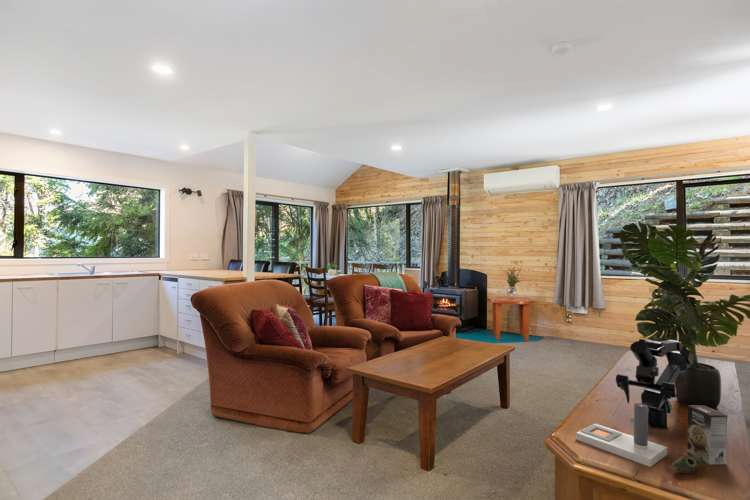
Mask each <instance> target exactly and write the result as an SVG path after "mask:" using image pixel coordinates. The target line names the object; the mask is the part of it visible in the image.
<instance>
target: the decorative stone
mask: <svg viewBox="0 0 750 500" xmlns="http://www.w3.org/2000/svg"><path fill="white" fill-rule="evenodd" d="M702 462H704V461H703V458H702V457H699V456H694V455H682V456H680V457H678V458H677V460H675V461H674V462H672V464H671V466H672V467H673V469H674V470H675V471H676V472H680V473H683V474H691V473H694V472H696V471H697V470H699V468H700V467H701V466H702Z"/></svg>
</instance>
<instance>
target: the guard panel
mask: <svg viewBox="0 0 750 500" xmlns="http://www.w3.org/2000/svg"><path fill="white" fill-rule="evenodd" d="M597 429H598V430H600V431H603V432H606V433H609V434H611V435H609V436H607V437H603V436H600V435H597V434H594V433H592V432H593V431H595V430H597ZM575 440H576V441H580V442H582V443H584V444H588V445H590V446H593V447H596V448H598V449H601V450H604V451H606V452H609V453H612V454H614V455H617V456H619V457H622V458H625V459H627V460H631V461H633V462H635V463H638V464H641V465H644V466H646V467H649V468H651V467H652V466H653V465H655V464H656V463H658V462H660V461H661V460H662V459H663V458H664V457H666V456H668V447H667V446H665V445H661V444H658V443H655V442H652V441H649V440H648V448H647V449H639V448H637V447H635V446H634V435H630V434H629V433H628V434H627V433H624V432H621V431H618V430H616V429H613V428H609V427H606V426H604V425H600V424H598V423H593V424H591V425H589V426H588V427H585V428H583V429H581V430H579V431H577V432H576V435H575Z"/></svg>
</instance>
